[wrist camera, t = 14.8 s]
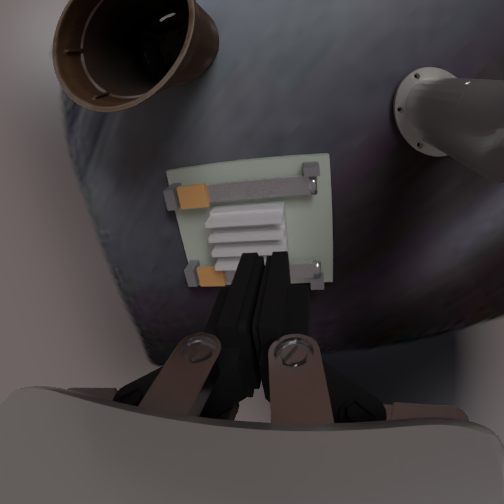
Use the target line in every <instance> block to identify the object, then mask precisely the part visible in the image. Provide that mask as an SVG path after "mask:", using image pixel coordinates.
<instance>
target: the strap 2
mask: <svg viewBox="0 0 504 504" xmlns="http://www.w3.org/2000/svg"><path fill="white" fill-rule="evenodd" d="M214 266H215V265H207V266H199V267H197V269H196V270H197V274H198V278H199V282H200V285H201V287H203V286H225V285H226V281H233V278H234V275H235V272H236V270H225V271H215V267H214ZM289 268H290V279H296V278H320V277H321V261H320V260H314V261H294V262H289Z"/></svg>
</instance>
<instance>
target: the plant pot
mask: <svg viewBox="0 0 504 504" xmlns="http://www.w3.org/2000/svg"><path fill="white" fill-rule="evenodd" d="M171 13H176V14H175V15H174V16H172V17H168V18H166V19H165V20H163V21H162V22H160V21H159V20H160V19H161V18H162V17H164V16H166V15H168V14H171ZM180 31H182V32H183V34H182V35H179V34H178V33H179V32H180ZM164 38H166V39H167V40H166V42H163V39H164ZM218 47H219V35H218V30H217V27H216V25H215V23H214V21H213V20H212V18H211V17H210V16H209V15H208V14H207V13H206V12H205V11H204V10H203V9H202V8H201V7H200V6H199V5H198V4H197V3H196V1H195V0H70V1H69V2H68V4H67V5H66V7H65V9H64V11H63V12H62V14H61V17H60V19H59V21H58V24H57V27H56V31H55V35H54V40H53V65H54V69H55V73H56V76H57V79H58V81H59V83H60V85H61V87H62V88H63V90H64V91H65V92H66V94H67V95H68V96H69V97H70V98H71V99H72V100H73V101H74V102H76V103H77V104H79V105H80V106H82V107H84V108H87V109H90V110H93V111H98V112H116V111H121V110H125V109H128V108H131V107H133V106H135V105H138V104H140V103H142V102H143V101H145V100H147V99H148V98H150V97H151V96H152V95H154V94H155V93H157V92H159V91H161V90H162V89H165V88H168V87H172V86H175V85H180V84H184V83H187V82H190V81H192V80H194V79H196V78H197V77H199V76H200V75H202V74H203V73H204V72H205V71H206V70H207V69H208V68H209V67H210V65H211V63H212V61H213V59H214V57H215V56H216V54H217V51H218ZM144 50H146V51H147V55H148V60H149V61H150V65H148V64H147V63H146V60H145V57H144V53H143V51H144ZM168 53H171V56H170V57H167V54H168Z"/></svg>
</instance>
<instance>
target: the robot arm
mask: <svg viewBox="0 0 504 504" xmlns="http://www.w3.org/2000/svg"><path fill="white" fill-rule="evenodd" d="M414 75H416V78H414ZM398 108H400V111H398V110H397V109H398ZM393 114H394V119H395V122H396V125H397V128H398V130H399V131H400V133H401V135H402V136H403V138H404V139H405V140H406V141H407V143H409V144H410V145H411V146H412V147H413V148H415V149H416V150H418V151H419V152H421V153H424V154H426V155H429V156H434V157H442V156H448V155H449V156H451V157H452V158H454V159H456V160H457V161H459V162H461V163H462V164H464V165H466V166H467V167H469V168H471V169H472V170H474V171H475V172H477V173H479V174H481V175H482V176H484V177H485V178H487V179H489V180H492V181H494V182H498V183H504V81H498V80H481V79H459V78H456V77H455V76H453V75H452V74H451V73H449V72H447V71H445V70H443V69H439V68H435V67H424V68H419V69H416V70H413V71H412V72H410V73H408V74H407V75H406V76H405V77H404V78H403V79H402V80H401V81H400V83H399V85H398V86H397V89H396V91H395V94H394V99H393ZM418 143H419V146H417V144H418ZM261 379H262V385H263V389H264V393H265V398H266V399H267V400H268V401H269V402H270V405H271V406H270V407H271V423H261V422H244V421H234V419H235V417H236V414H237V412H238V409H239V402H240V401H241V400H243V399H245V398H246V397H253V393H254V389H259V388H260V384H261ZM0 504H504V445H503V443H502V442H501V440H500V438H499V437H498V436H497V435H496V434H495V433H494V432H493V431H492V430H491V429H489V428H487V427H485V426H483V425H480V424H477V423H474V422H470V421H469V419H468V416H467V415H466V413H465V412H464V411H463V410H461V409H460V408H458V407H454V406H443V405H423V404H409V403H398V402H394V404H393V405H385V404H383V403H382V402H381V401H379V400H378V399H377V398H376V397H374V396H373V395H371V394H370V393H368V392H367V391H365V390H364V389H363V388H361V387H360V386H358V385H357V384H355V383H354V382H352V381H351V380H350V379H348V378H347V377H345V376H344V375H342V374H341V373H340V372H338V371H337V370H335V369H334V368H332V367H331V366H330V365H328V364H327V363H325V362H324V361H323V360H322V359H321V354H320V349H319V346H318V344H317V342H316V341H315V340H313V339H312V338H311V337H310V297H309V285H301V286H291V280H290V268H289V256H288V251H278V252H273V253H272V256H267V258H266V263H264V257H263V256H259V255H258V253H257V252H255V253H242V255H241V258H240V261H239V264H238V266H237V269H236V272H235V275H234V278H233V281H232V283H231V286H230V287H223V288H221V290H220V292H219V294H218V297H217V299H216V302H215V305H214V307H213V310H212V312H211V315H210V317H209V320H208V323H207V325H206V328H205V330H204V333H196V334H192V335H190V336H187V337H186V338H184V339H183V340H181V342H180V343H179V344H178V345H177V346H176V348H175V350H174V351H173V353H172V354H171V356H170V357H169V359H168V360H167V362H166V363H165V365H164V366H163V367H161V368H159V369H157V370H155V371H153V372H151V373H149V374H147V375H145V376H143V377H141V378H139V379H137V380H135V381H133V382H131V383H129V384H127V385H125V386H124V387H122V388H121V389H120V390H119V391H117V390H116V388H69V389H67V390H65V389H62V388H55V387H45V386H33V387H25V388H21V389H18V390H15V391H14V392H12V393H11V394H10V395H9V396H8V397H7V398H6V399H5V400H4V402H3V403H2V404H1V405H0Z"/></svg>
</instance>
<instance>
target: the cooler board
mask: <svg viewBox="0 0 504 504" xmlns="http://www.w3.org/2000/svg"><path fill="white" fill-rule="evenodd" d="M166 175H167V179H168V184H169V186H168V187H167V188H166V189H165V190H164V191H163V193H164V197H165V201H166V206H167V210H168V211H172V210H175V213H176V217H177V221H178V225H179V229H180V233H181V237H182V241H183V245H184V249H185V252H186V256H187V260H188V265H187V267H186V268H185V270H184V273H185V276H186V280H187V283H188V286H189V287H197V286H198V285H200V282H199V278H198V274H197V270H196V269H197V267H199V266H207V265H215V266H214V267H215V271H225V270H236V269H237V266H238V264H239V261H240V258H241V255H242V253H255V252H257V253H258V255H259V256H263V257H264V263H266V258H267V256H272V253H273V252H278V251H288V256H289V262H294V261H314V260H320V261H321V277H320V278H296V279H290V280H291V283H311V290H322V289H324V282H333V229H332V198H331V177H330V160H329V153H325V154H306V155H291V156H278V157H266V158H255V159H245V160H236V161H227V162H218V163H210V164H203V165H196V166H188V167H182V168H175V169H169V170H167V171H166ZM293 175H304V177H311V176H317V189H318V194H316V195H294V196H279V197H266V198H253V199H241V200H230V201H219V202H210V206H209V207H203V208H193V209H184V210H181V206H180V202H179V197H178V193H177V189H176V188H177V187H178V186H184V185H192V184H200V183H206V184H208V183H216V182H225V181H235V180H245V179H256V178H267V177H279V176H293ZM231 283H232V281H226V285H231Z"/></svg>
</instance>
